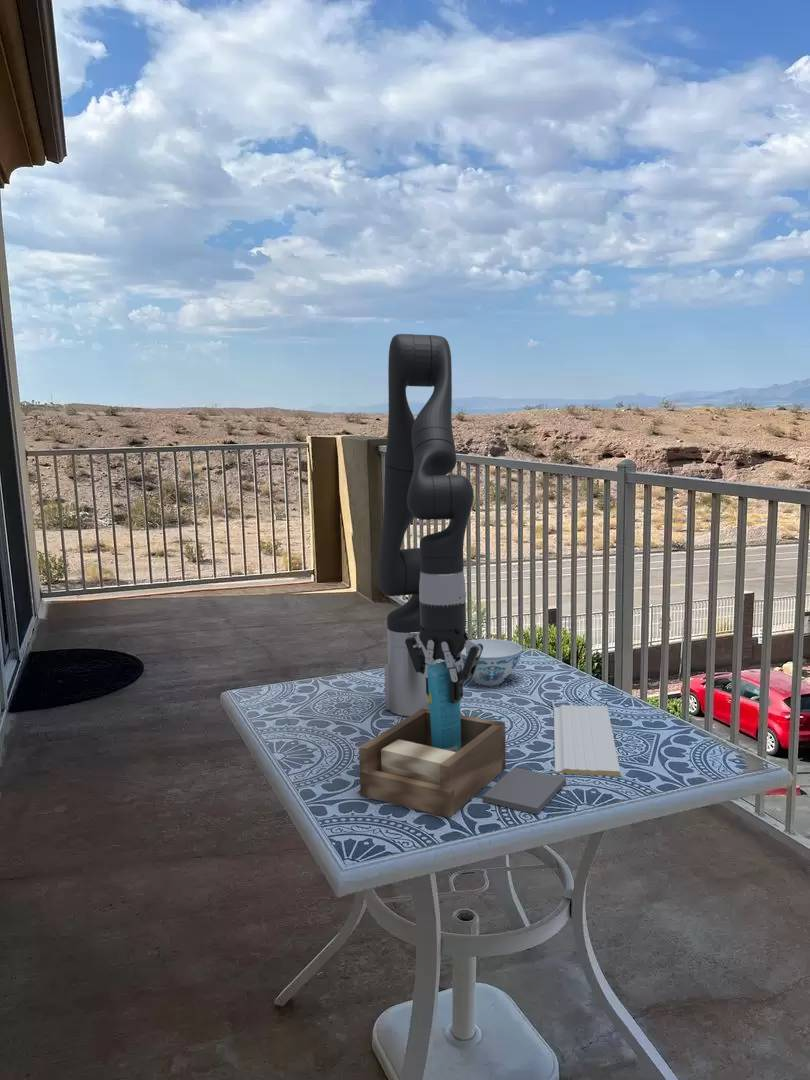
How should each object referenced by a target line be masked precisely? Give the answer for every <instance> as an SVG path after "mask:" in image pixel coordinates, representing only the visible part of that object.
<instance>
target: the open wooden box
mask: <svg viewBox="0 0 810 1080" xmlns="http://www.w3.org/2000/svg"><path fill="white" fill-rule="evenodd" d="M460 722H461V749H460V750H459V751H457V752H456V753H455V754H453V755H452V756H451V757H449V758H448V759H447V760H446V761H444V762H443V763H442V764H440V785H436V784H432V783H428V782H423V781H419V780H415V779H410V778H406V777H402V776H397V775H393V774H388V773H384V772H381V749H383V748H384V747H386V746H388V745H390V744H391V743H393V742H395V741H396V740H398V739H400V740H404V741H408V742H413V743H417V744H422V745H426V746H431V747H432V741H431V722H430V710H429V709H423V708H422V709H420V710H419V711H417V712H416V713H414V714H412V715H411V716H406V717H405V718H403V720H401V721H399V722H398V723H395V724H394V725H392V726H391V727H390V728H388V729H387V730H385V731H383V732H382V733H379V734H378V735H377V736H375V737H373V738H371V739H370V740H368V741H367V742H366V743H364V744H362V745H360V746H359V747H358V761H359V766H358V767H359V784H360V785H359V789H360V790H359V791H360V796H361V797H365V798H369V799H373V800H376V801H381V802H384V803H389V804H393V805H396V806H401V807H403V808H407V809H408V808H409V809H412V810H415V811H416V810H417V811H420V812H424V813H428V814H431V815H436V816H440V817H444V818H449V819H450V818H452V817H453V816H454V815H455V814H456V813H458V811H460V810H461V809H462V808H464V806H465V805H466V804H468V802H469V800H470V799H471V800H472V799H473V798H474V797H475V796H477V794H479V793H480V792H481V791H482V790H483V789H485V788H486V786H488V785H489V784H490V783H491V782H492V781H493V780H494V779H496V778H497V777H498V776H499V775H500V774H502V773H503V771H505V768H506V767H507V766H506V765H507V763H506V722H501V721H497V720H491V719H490V720H489V719H484V718H481V717H474V716H473V717H472V716H467V715H463V714H460ZM498 774H499V775H498ZM497 775H498V776H497ZM496 776H497V777H496ZM487 784H488V785H487ZM482 788H483V789H482ZM480 790H481V791H480ZM479 791H480V792H479ZM478 792H479V793H478ZM473 796H474V797H473ZM471 800H470V801H471ZM460 808H461V809H460Z"/></svg>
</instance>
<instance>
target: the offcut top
mask: <svg viewBox="0 0 810 1080" xmlns="http://www.w3.org/2000/svg"><path fill="white" fill-rule="evenodd" d="M455 753H456V752H453V751H448V750H444V749H439V748H435V747H431V746H426V745H422V744H417V743H413V742H408V741H404V740H400V739H398V740H396V741H395V742H393V743H391V744H390V745H388V746H386V747H384V748H383V749H381V765H385V766H389V767H393V768H397V769H401V770H405V771H409V772H414V773H418V774H422V775H426V776H430V777H434V778H438V779H440V764H442V763H443V762H444V761H446V760H447V759H448V758H449V757H451V756H452V755H453V754H455Z"/></svg>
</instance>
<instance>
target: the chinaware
mask: <svg viewBox="0 0 810 1080" xmlns="http://www.w3.org/2000/svg"><path fill="white" fill-rule="evenodd" d="M470 641H471V642H473V643H475V644H479V643H480V644H482V645H483V650H482V653H481V656H480V659H479V661H478V664H477V667H476V670H475V672H474V675H473V676H471V677H470V678H473V681H474V683H476V684H477V683H478V685H481V684H482V686H497V685H500V683H501V684H502V682H503V681H505V678H507V677H508V676H509V675H511V674H512V673H513V672H514V670H515V669H516V668H517V666H518V665H519V662H520V661H521V658H522V652H523V646H522V645H521V644H520V643H518V642H515V641H511V640H505V639H499V638H497V639H495V638H485V639H484V638H481V639H472V640H470ZM461 654H462V659H463V664H462V666H463V667H464V665H465V662H466V659H467V656H468V655H466V648H465V647H464V649H463V650H462V652H461ZM503 683H504V682H503Z"/></svg>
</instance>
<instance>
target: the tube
mask: <svg viewBox="0 0 810 1080" xmlns="http://www.w3.org/2000/svg"><path fill="white" fill-rule="evenodd" d="M453 660H454V659H453ZM427 673H428V690H429V706H430V722H431V741H432V747H435V748H439V749H444V750H448V751H453V752H457V751H459V750H460V749H461V722H460V715H461V700H460V701H459V702H457V703H456V704H454V703H451V696H450V682H451V681H452V680H451V676H450V671H449V669H448V668H447V665H446V661H445V660H443V661H440V662H439V663H437V664H434V665H431V666H428V667H427Z"/></svg>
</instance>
